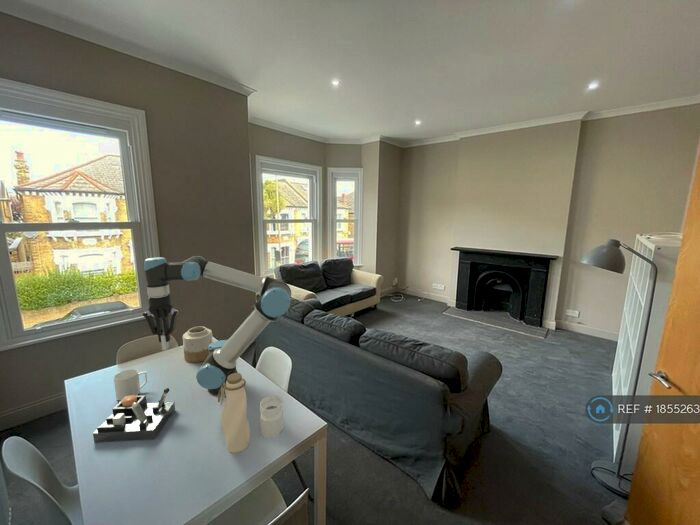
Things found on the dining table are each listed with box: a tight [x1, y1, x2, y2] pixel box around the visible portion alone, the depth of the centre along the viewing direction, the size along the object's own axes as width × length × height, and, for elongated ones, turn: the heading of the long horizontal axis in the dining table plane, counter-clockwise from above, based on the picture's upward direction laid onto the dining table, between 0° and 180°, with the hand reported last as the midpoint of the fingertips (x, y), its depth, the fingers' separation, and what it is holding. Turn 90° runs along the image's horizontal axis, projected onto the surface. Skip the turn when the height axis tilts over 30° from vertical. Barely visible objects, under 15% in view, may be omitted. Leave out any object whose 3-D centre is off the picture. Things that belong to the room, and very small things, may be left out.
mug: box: [113, 368, 148, 402], centre depth 133 cm, size 12×9×11 cm
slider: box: [113, 413, 125, 425], centre depth 109 cm, size 2×3×4 cm
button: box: [122, 395, 138, 407], centre depth 118 cm, size 5×5×4 cm
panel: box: [92, 394, 176, 444], centre depth 115 cm, size 21×16×8 cm
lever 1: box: [132, 403, 148, 423], centre depth 109 cm, size 2×3×8 cm
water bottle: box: [217, 372, 251, 454], centre depth 104 cm, size 10×9×28 cm
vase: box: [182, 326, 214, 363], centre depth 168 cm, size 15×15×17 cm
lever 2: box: [157, 387, 170, 408], centre depth 119 cm, size 2×3×8 cm
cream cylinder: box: [259, 395, 284, 438], centre depth 114 cm, size 9×9×12 cm
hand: (165, 348), depth 121 cm, fingers closed
